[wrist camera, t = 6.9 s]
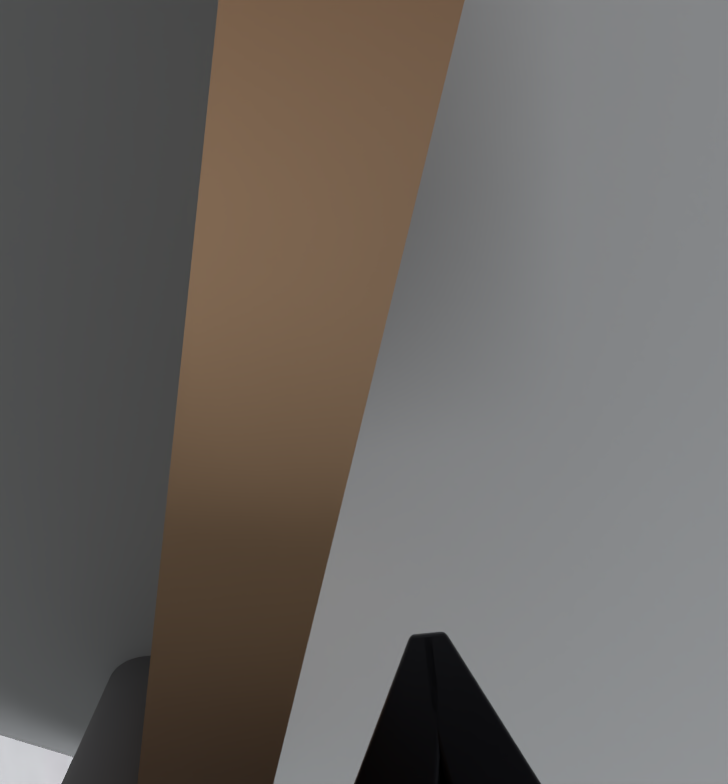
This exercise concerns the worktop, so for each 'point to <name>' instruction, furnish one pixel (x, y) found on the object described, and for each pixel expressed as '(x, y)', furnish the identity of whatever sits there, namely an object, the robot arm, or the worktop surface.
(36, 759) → the worktop surface
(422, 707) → the robot arm
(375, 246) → the gate
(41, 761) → the worktop surface
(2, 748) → the worktop surface
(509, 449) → the gate frame
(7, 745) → the worktop surface
